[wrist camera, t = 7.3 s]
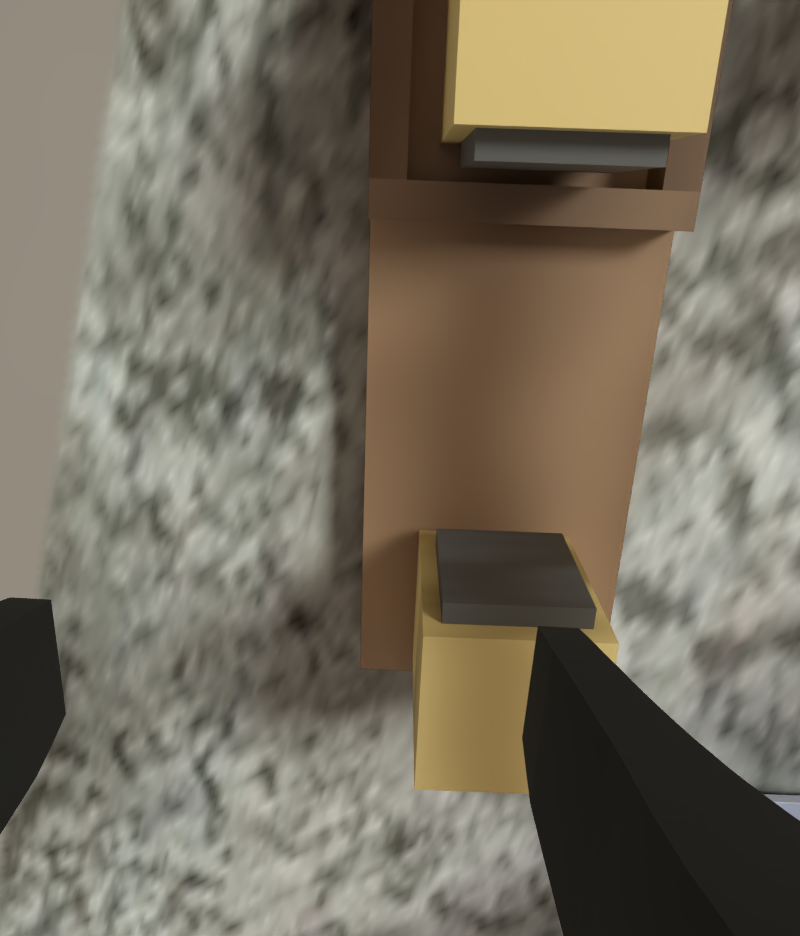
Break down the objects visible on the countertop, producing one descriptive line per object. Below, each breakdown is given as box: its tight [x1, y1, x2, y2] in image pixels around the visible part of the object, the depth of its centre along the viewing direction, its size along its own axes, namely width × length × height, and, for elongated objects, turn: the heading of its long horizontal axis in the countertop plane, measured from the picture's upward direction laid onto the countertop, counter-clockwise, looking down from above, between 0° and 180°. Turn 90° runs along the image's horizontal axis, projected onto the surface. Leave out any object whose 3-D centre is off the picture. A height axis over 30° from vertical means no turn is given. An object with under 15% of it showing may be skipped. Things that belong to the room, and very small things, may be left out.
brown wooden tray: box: [360, 0, 733, 794], centre depth 16 cm, size 7×20×6 cm, turn 178°
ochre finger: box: [440, 0, 729, 173], centre depth 13 cm, size 4×4×5 cm
